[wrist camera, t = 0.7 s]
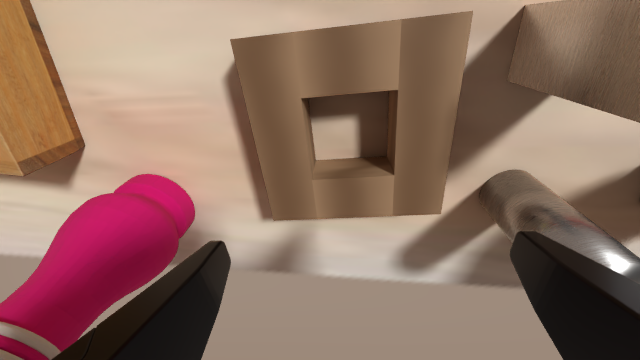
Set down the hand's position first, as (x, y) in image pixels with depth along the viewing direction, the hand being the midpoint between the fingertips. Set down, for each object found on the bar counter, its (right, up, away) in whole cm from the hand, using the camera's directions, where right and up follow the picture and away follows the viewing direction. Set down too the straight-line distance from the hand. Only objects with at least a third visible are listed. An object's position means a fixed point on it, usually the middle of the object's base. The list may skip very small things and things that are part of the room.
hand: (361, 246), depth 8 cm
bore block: (+1, +6, +10) cm, 12 cm away
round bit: (+13, +1, +12) cm, 18 cm away
